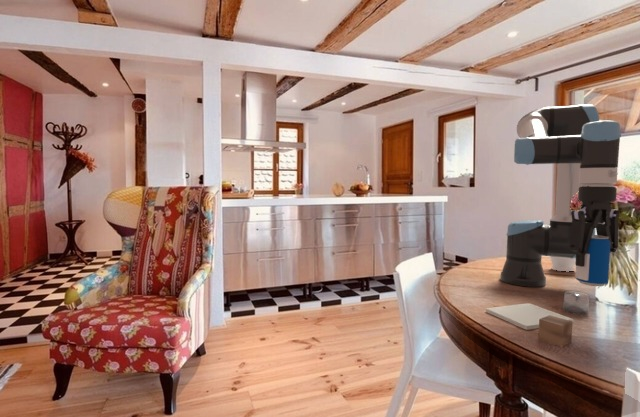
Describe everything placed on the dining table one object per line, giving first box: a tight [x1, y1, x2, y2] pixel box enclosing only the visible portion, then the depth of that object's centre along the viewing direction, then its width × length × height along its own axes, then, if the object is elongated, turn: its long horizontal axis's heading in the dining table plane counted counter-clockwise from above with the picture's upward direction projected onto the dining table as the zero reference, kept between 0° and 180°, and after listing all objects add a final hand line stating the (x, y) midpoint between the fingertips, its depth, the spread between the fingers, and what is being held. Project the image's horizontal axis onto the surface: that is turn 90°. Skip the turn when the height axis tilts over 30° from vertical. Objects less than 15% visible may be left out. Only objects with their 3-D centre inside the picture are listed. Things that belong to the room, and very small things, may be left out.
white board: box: [485, 302, 574, 331], centre depth 103 cm, size 16×14×1 cm
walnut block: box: [537, 315, 574, 348], centre depth 87 cm, size 5×5×5 cm
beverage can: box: [575, 234, 611, 287], centre depth 93 cm, size 6×6×12 cm
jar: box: [549, 256, 576, 273], centre depth 160 cm, size 11×10×15 cm
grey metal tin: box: [562, 290, 590, 315], centre depth 108 cm, size 6×6×5 cm
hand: (592, 277), depth 93 cm, fingers closed on beverage can, 6 cm apart
